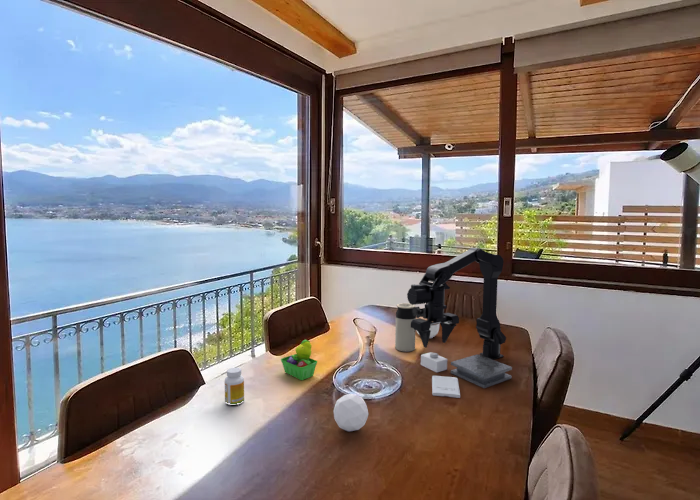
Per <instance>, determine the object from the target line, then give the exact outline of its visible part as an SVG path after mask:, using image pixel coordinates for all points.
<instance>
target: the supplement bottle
mask: <svg viewBox="0 0 700 500" xmlns="http://www.w3.org/2000/svg"><path fill="white" fill-rule="evenodd" d="M242 401H244V402H245V377H244V376H243V375H242V368H240V367H230V368H228V369H227V370H226V377H225V379H224V402H227V403H230V404H237V403H241V402H242Z"/></svg>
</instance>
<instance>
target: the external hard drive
mask: <svg viewBox="0 0 700 500" xmlns="http://www.w3.org/2000/svg"><path fill="white" fill-rule="evenodd" d="M458 378H459V377H457V376H455V377H454V376H453V377H452V376H441V375H432V376H431V387H432V388H431V389H432V392H431V394H432V396H438V397H448V398H457V399H458V398H459V399H460V398H461V392H460V385H459V379H458Z"/></svg>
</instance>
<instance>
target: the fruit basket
mask: <svg viewBox="0 0 700 500" xmlns="http://www.w3.org/2000/svg"><path fill="white" fill-rule="evenodd" d="M312 346H313V345H312V344H311V341H310V340H307V339H304V340H302V341H301V343H300V344H299V345H297V347H296V348H295V350H294V351H295V352H296V353H295V354H291V355H287V356H285V357H282V358H281V359H280V361H281V364H282V367H283V371H284V373H285V372H286V373H288V374H287V375H289V374H290V375H289V376H291V375H292V376H291V377H294V378H295V377H296V378H295V379H298V380H299V381H304V380H306V379H308V378H311V377H314V374H315V369H316V367H317V364H318V360H315V359H313V358H311V356H312V348H313V347H312ZM286 373H285V374H286Z"/></svg>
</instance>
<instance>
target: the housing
mask: <svg viewBox="0 0 700 500" xmlns="http://www.w3.org/2000/svg"><path fill="white" fill-rule="evenodd" d="M420 366H422V367H425V368H426V369H428V370H431V371H433V372H434V373H439V372H443V371H446V370H447V369H448V358H445V357H443V356H441V355H439V353H437V352H427V353H422V354H421V355H420Z"/></svg>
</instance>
